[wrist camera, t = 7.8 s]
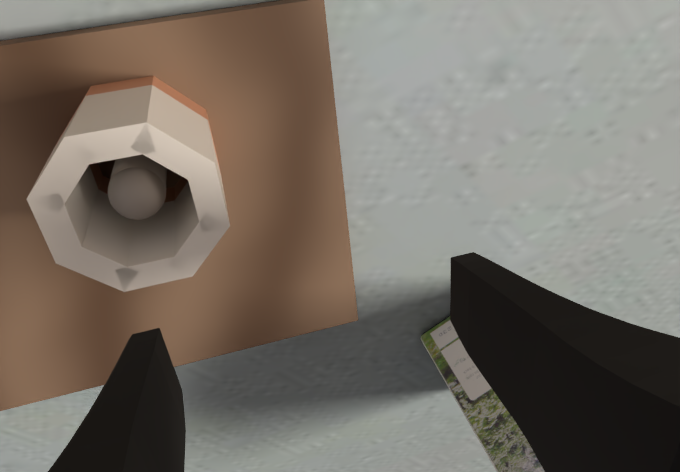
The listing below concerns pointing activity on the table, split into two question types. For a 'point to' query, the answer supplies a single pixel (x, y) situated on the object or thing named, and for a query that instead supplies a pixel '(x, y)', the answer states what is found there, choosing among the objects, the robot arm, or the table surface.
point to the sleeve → (92, 187)
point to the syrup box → (479, 402)
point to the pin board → (152, 180)
